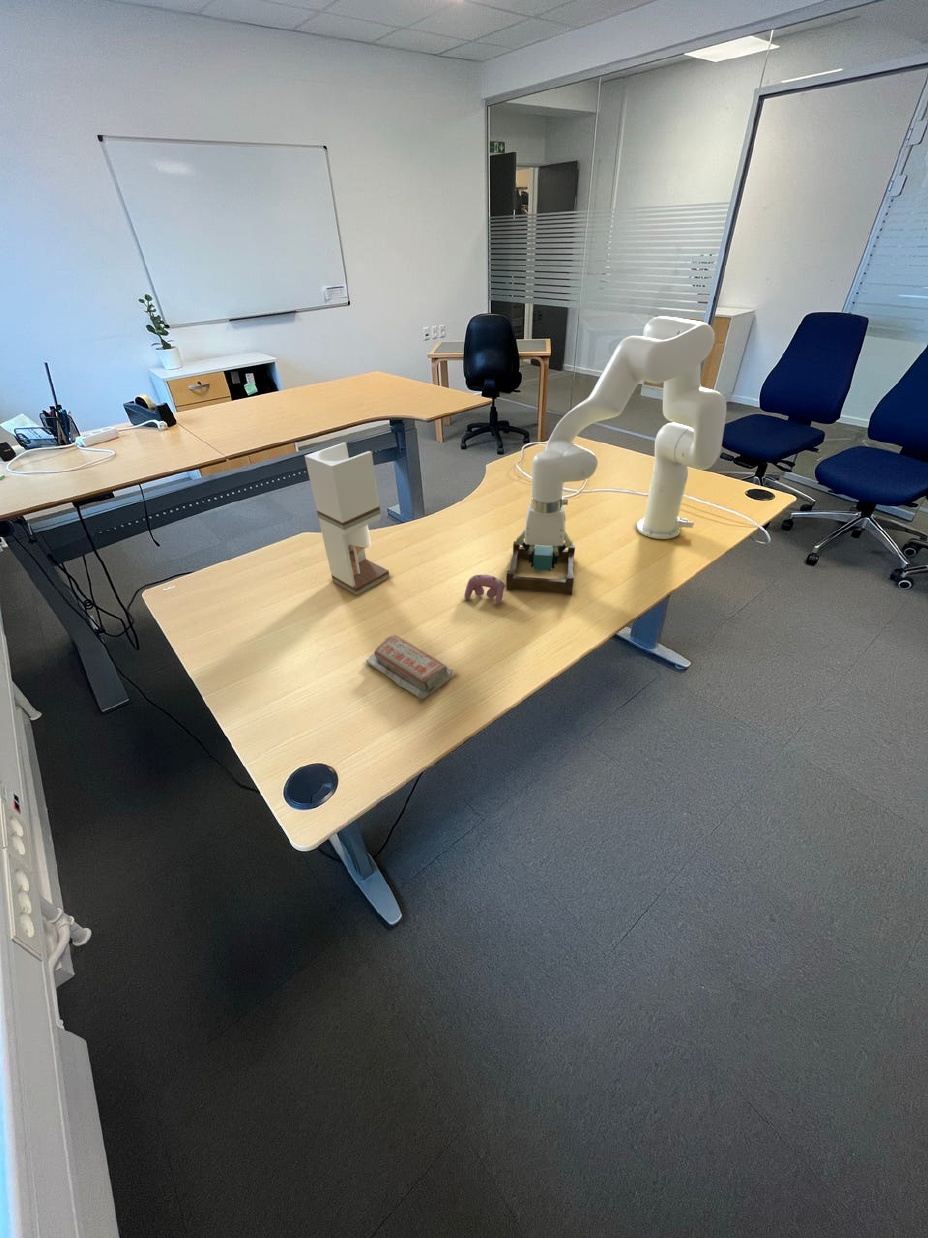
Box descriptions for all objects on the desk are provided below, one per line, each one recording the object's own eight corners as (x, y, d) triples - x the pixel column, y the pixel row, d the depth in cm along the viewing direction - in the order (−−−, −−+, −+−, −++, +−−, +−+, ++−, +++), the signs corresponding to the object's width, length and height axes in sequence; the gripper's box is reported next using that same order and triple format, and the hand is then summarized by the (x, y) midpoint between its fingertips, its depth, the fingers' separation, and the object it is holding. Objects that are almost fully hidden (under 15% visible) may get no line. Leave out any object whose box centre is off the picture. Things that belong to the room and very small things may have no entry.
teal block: (552, 561, 141) (553, 546, 138) (551, 571, 137) (552, 555, 134) (534, 560, 142) (535, 545, 139) (533, 570, 138) (533, 554, 135)
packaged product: (454, 659, 108) (420, 685, 102) (455, 676, 111) (422, 702, 105) (396, 625, 118) (362, 647, 112) (399, 641, 121) (365, 663, 115)
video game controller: (503, 604, 134) (507, 577, 132) (499, 606, 129) (503, 579, 128) (467, 597, 136) (470, 571, 135) (462, 600, 132) (465, 573, 130)
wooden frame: (573, 560, 146) (575, 544, 143) (571, 594, 133) (573, 578, 130) (513, 556, 149) (513, 541, 146) (506, 589, 136) (506, 573, 133)
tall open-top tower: (356, 595, 136) (331, 466, 115) (332, 580, 142) (304, 455, 121) (389, 576, 143) (371, 451, 121) (365, 563, 148) (344, 442, 127)
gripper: (581, 497, 130) (575, 559, 141) (513, 495, 133) (513, 556, 144) (581, 511, 124) (574, 575, 135) (510, 508, 127) (509, 570, 138)
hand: (542, 564), depth 139 cm, fingers closed on teal block, 4 cm apart
